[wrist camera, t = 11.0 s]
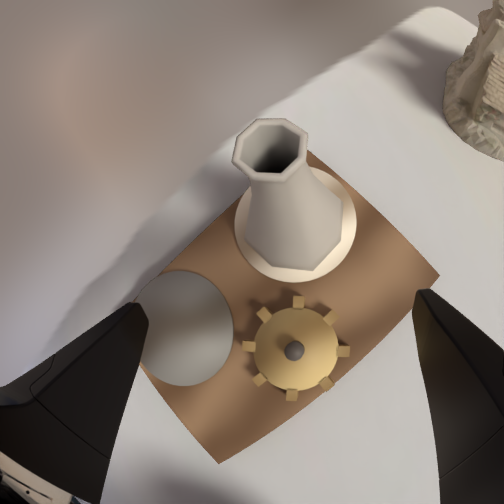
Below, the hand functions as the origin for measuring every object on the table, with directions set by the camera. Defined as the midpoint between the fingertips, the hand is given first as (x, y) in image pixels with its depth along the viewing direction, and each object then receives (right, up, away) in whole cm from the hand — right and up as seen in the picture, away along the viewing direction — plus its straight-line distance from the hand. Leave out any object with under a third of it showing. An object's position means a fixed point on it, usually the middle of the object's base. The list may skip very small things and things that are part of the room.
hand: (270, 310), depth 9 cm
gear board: (0, -2, +13) cm, 13 cm away
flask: (+3, +4, +12) cm, 13 cm away
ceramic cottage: (+27, +17, +12) cm, 34 cm away
